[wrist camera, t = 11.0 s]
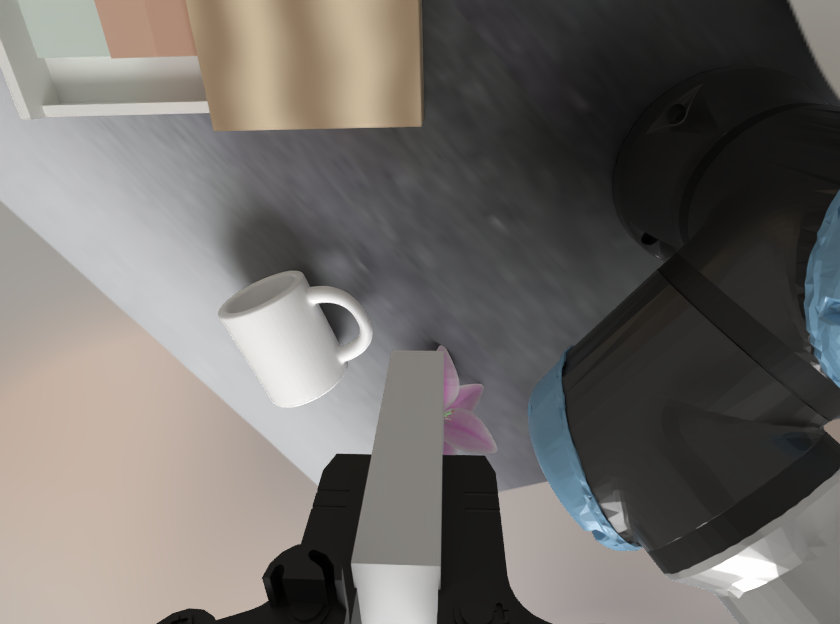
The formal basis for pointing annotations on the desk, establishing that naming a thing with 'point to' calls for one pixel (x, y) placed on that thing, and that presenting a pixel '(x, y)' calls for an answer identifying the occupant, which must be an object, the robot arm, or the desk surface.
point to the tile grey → (64, 28)
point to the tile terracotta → (146, 28)
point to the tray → (93, 79)
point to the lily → (463, 415)
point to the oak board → (310, 63)
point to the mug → (292, 336)
